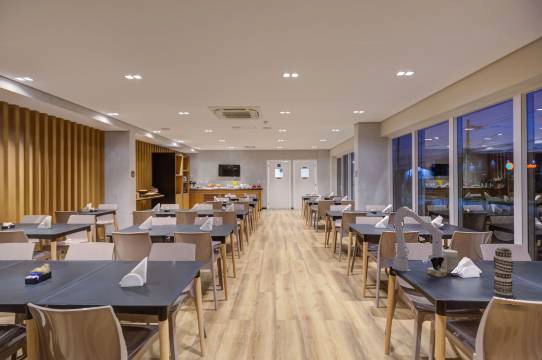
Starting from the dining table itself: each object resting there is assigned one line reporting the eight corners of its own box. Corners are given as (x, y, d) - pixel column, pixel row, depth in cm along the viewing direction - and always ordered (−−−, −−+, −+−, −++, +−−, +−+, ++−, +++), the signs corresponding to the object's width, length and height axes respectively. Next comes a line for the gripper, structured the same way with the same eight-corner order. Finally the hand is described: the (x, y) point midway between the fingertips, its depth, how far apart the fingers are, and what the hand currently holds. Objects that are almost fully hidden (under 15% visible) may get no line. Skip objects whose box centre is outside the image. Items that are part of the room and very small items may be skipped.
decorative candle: (490, 289, 189) (490, 245, 189) (509, 291, 186) (509, 246, 186) (496, 294, 180) (496, 248, 180) (516, 296, 177) (516, 250, 178)
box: (427, 274, 219) (427, 269, 219) (434, 273, 222) (434, 268, 222) (439, 277, 211) (439, 273, 211) (446, 276, 214) (446, 271, 214)
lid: (427, 270, 219) (427, 264, 219) (434, 269, 222) (434, 263, 222) (439, 273, 210) (439, 267, 210) (446, 272, 213) (447, 266, 213)
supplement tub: (460, 273, 222) (461, 251, 222) (453, 275, 217) (453, 252, 217) (446, 269, 231) (446, 248, 231) (439, 271, 225) (439, 250, 225)
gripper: (434, 250, 210) (434, 271, 209) (450, 248, 216) (449, 269, 216) (425, 248, 216) (425, 268, 216) (440, 246, 222) (440, 266, 222)
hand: (436, 268), depth 216 cm, fingers closed on lid, 3 cm apart
